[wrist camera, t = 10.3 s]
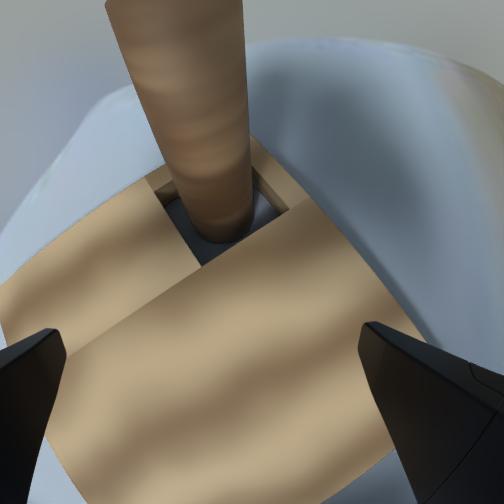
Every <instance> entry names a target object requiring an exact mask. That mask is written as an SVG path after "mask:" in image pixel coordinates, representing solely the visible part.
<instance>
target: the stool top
mask: <svg viewBox="0 0 504 504" xmlns="http://www.w3.org/2000/svg"><path fill="white" fill-rule="evenodd" d="M250 151H251V171H252V183H253V184H254V185H255V186H256V187H257V188H258V190H259V191H260V192H261V193H262V194H263V195H264V197H265V198H266V199H267V200H268V201H269V203H270V204H271V205H272V206H273V207H274V208H275V210H276V211H277V212H278V213H279V214H280V216H279V217H277V218H276V219H274V220H273V221H271V222H270V223H268V224H266V225H265V226H263V227H262V228H260V229H259V230H257V231H256V232H254V233H253V234H251V235H250V236H248V237H246V238H245V239H243V240H242V241H240V242H239V243H237V244H236V245H234V246H233V247H231V248H230V249H228V250H227V251H225V252H223V253H222V254H220V255H219V256H217V257H216V258H214V259H213V260H211V261H210V262H208V263H207V264H205V265H204V266H202V267H201V265H200V264H199V262H198V261H197V259H196V258H195V256H194V255H193V253H192V252H191V250H190V249H189V247H188V245H187V244H186V242H185V241H184V239H183V238H182V236H181V235H180V233H179V232H178V230H177V228H176V227H175V225H174V224H173V222H172V221H171V219H170V217H169V216H168V214H167V213H166V211H165V210H164V208H163V206H164V205H166V204H168V203H169V202H171V201H172V200H174V199H176V198H177V197H179V196H180V195H179V193H178V191H177V188H176V186H175V184H174V181H173V179H172V177H171V174H170V172H169V170H168V168H167V165H166V164H164V165H162V166H161V167H159V168H157V169H156V170H154V171H152V172H151V173H149V174H148V175H146V176H144V177H143V178H141V179H140V180H138V181H137V182H135V183H133V184H132V185H130V186H129V187H127V188H126V189H124V190H123V191H121V192H120V193H118V194H117V195H115V196H114V197H112V198H111V199H109V200H108V201H106V202H105V203H104V204H102V205H101V206H99V207H98V208H96V209H95V210H94V211H92V212H91V213H89V214H88V215H87V216H85V217H84V218H83V219H81V220H80V221H79V222H77V223H76V224H74V225H73V226H72V227H70V228H69V229H68V230H67V231H65V232H64V233H63V234H61V235H60V236H59V237H58V238H56V239H55V240H54V241H52V242H51V243H50V244H49V245H47V246H46V247H45V248H44V249H42V250H41V251H40V252H39V253H38V254H36V255H35V256H34V257H33V258H32V259H30V260H29V261H28V262H27V263H26V264H25V265H23V266H22V267H21V268H20V269H19V270H18V271H17V272H15V273H14V274H13V275H12V276H11V277H10V278H9V279H8V280H7V281H5V282H4V283H3V284H2V285H1V286H0V323H1V326H2V330H3V333H4V337H5V340H6V343H7V346H10V345H12V344H14V343H16V342H18V341H21V340H23V339H25V338H27V337H29V336H31V335H33V334H35V333H37V332H39V331H41V330H43V329H45V328H55V329H58V330H59V332H60V334H61V337H62V340H63V343H64V346H65V349H66V353H67V359H66V362H65V366H64V370H63V374H62V377H61V381H60V385H59V389H58V393H57V397H56V400H55V403H54V406H53V409H52V412H51V415H50V418H49V421H48V424H47V427H46V431H45V434H44V435H45V437H46V439H47V440H48V442H49V444H50V446H51V448H52V450H53V451H54V453H55V455H56V457H57V458H58V460H59V462H60V463H61V465H62V467H63V468H64V470H65V471H66V473H67V474H68V476H69V478H70V479H71V481H72V482H73V484H74V485H75V487H76V488H77V490H78V491H79V492H80V494H81V495H82V497H83V498H84V499H85V501H86V502H87V504H320V503H322V502H323V501H325V500H327V499H328V498H330V497H331V496H333V495H334V494H336V493H337V492H339V491H340V490H342V489H343V488H345V487H346V486H347V485H349V484H350V483H352V482H353V481H354V480H356V479H357V478H358V477H360V476H361V475H362V474H364V473H365V472H366V471H368V470H369V469H370V468H372V467H373V466H374V465H375V464H377V463H378V462H379V461H380V460H382V459H383V458H384V457H385V456H386V455H388V454H389V453H390V452H391V451H392V450H393V449H395V446H394V444H393V441H392V439H391V437H390V434H389V432H388V430H387V428H386V425H385V423H384V421H383V418H382V416H381V414H380V412H379V409H378V407H377V405H376V403H375V401H374V398H373V396H372V394H371V391H370V388H369V385H368V382H367V379H366V376H365V372H364V369H363V366H362V363H361V360H360V357H359V354H358V341H359V337H360V332H361V327H362V325H363V324H364V323H365V322H371V321H378V322H380V323H382V324H384V325H387V326H389V327H391V328H393V329H396V330H398V331H400V332H402V333H405V334H407V335H409V336H411V337H414V338H416V339H418V340H420V341H423V342H425V343H427V342H426V341H425V339H424V338H423V337H422V335H421V334H420V332H419V331H418V330H417V328H416V327H415V325H414V324H413V323H412V321H411V320H410V319H409V317H408V316H407V315H406V313H405V312H404V310H403V309H402V308H401V306H400V305H399V304H398V302H397V301H396V300H395V298H394V297H393V296H392V295H391V293H390V292H389V291H388V289H387V288H386V287H385V285H384V284H383V283H382V282H381V280H380V279H379V278H378V277H377V275H376V274H375V273H374V271H373V270H372V269H371V268H370V266H369V265H368V264H367V263H366V261H365V260H364V259H363V258H362V257H361V255H360V254H359V253H358V252H357V250H356V249H355V248H354V247H353V246H352V244H351V243H350V242H349V241H348V240H347V238H346V237H345V236H344V235H343V234H342V233H341V231H340V230H339V229H338V228H337V227H336V225H335V224H334V223H333V222H332V221H331V220H330V219H329V217H328V216H327V215H326V214H325V213H324V212H323V211H322V209H321V208H320V207H319V206H318V205H317V204H316V203H315V201H314V200H313V199H312V198H311V197H310V196H309V195H308V194H307V193H306V191H305V190H304V189H303V188H302V187H301V186H300V185H299V184H298V183H297V182H296V181H295V179H294V178H293V177H292V176H291V175H290V174H289V173H288V172H287V171H286V170H285V169H284V168H283V167H282V166H281V165H280V163H279V162H278V161H277V160H276V159H275V158H274V157H273V156H272V155H271V154H270V153H269V152H268V151H267V150H266V149H265V148H264V147H263V146H262V145H261V144H260V143H259V142H258V141H257V140H256V139H255V138H254V137H253V136H252V135H251V134H250Z"/></svg>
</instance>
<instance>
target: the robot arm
mask: <svg viewBox="0 0 504 504" xmlns="http://www.w3.org/2000/svg"><path fill="white" fill-rule="evenodd" d="M358 354H359V357H360V360H361V363H362V366H363V369H364V372H365V376H366V379H367V382H368V385H369V388H370V391H371V394H372V396H373V398H374V401H375V403H376V405H377V407H378V409H379V412H380V414H381V416H382V418H383V421H384V423H385V425H386V428H387V430H388V432H389V434H390V437H391V439H392V441H393V444H394V446H395V448H396V451H397V453H398V456H399V458H400V460H401V463H402V465H403V468H404V470H405V473H406V475H407V477H408V480H409V482H410V485H411V487H412V490H413V492H414V495H415V498H416V500H417V503H418V504H504V376H503V375H501V374H498V373H495V372H492V371H490V370H488V369H485V368H483V367H480V366H478V365H476V364H473V363H471V362H470V363H469V362H468V361H466V360H464V359H462V358H459V357H457V356H455V355H452V354H450V353H448V352H445V351H443V350H441V349H439V348H436V347H434V346H432V345H429V344H427V343H425V342H423V341H420V340H418V339H416V338H414V337H411V336H409V335H407V334H405V333H402V332H400V331H398V330H396V329H393V328H391V327H389V326H387V325H384V324H382V323H380V322H378V321H371V322H365V323H364V324H363V325H362V327H361V332H360V337H359V341H358ZM66 359H67V353H66V349H65V346H64V343H63V340H62V337H61V334H60V332H59V330H58V329H55V328H45V329H43V330H41V331H39V332H37V333H35V334H33V335H31V336H29V337H27V338H25V339H23V340H21V341H18V342H16V343H14V344H12V345H10V346H8V347H6V348H4V349H2V350H0V504H27V500H28V495H29V491H30V486H31V482H32V478H33V474H34V470H35V466H36V462H37V458H38V454H39V451H40V447H41V444H42V440H43V437H44V434H45V431H46V427H47V424H48V421H49V418H50V415H51V412H52V409H53V406H54V403H55V400H56V397H57V393H58V389H59V385H60V381H61V377H62V374H63V370H64V366H65V362H66Z"/></svg>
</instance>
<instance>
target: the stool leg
mask: <svg viewBox="0 0 504 504" xmlns="http://www.w3.org/2000/svg"><path fill="white" fill-rule="evenodd" d="M105 8H106V11H107V14H108V17H109V20H110V22H111V25H112V28H113V31H114V34H115V36H116V39H117V42H118V45H119V48H120V50H121V53H122V56H123V58H124V61H125V63H126V66H127V69H128V72H129V74H130V77H131V79H132V82H133V84H134V87H135V90H136V92H137V95H138V97H139V100H140V102H141V105H142V107H143V110H144V112H145V115H146V117H147V120H148V122H149V125H150V127H151V129H152V132H153V134H154V137H155V139H156V142H157V144H158V146H159V149H160V151H161V153H162V156H163V158H164V160H165V163H166V165H167V168H168V170H169V172H170V174H171V177H172V179H173V181H174V184H175V186H176V188H177V191H178V193H179V195H180V197H181V200H182V202H183V204H184V206H185V209H186V211H187V213H188V215H189V217H190V220H191V222H192V224H193V226H194V228H195V230H196V232H197V233H198V235H199V236H200V237H202V238H203V239H204V240H206V241H208V242H211V243H214V244H228V243H232V242H234V241H237V240H238V239H240V238H241V237H243V236H244V235H245V234H246V233H247V232H248V231H249V229H250V227H251V225H252V223H253V218H254V210H253V190H252V171H251V151H250V132H249V113H248V94H247V76H246V57H245V39H244V23H243V4H242V0H107V1H106V3H105Z"/></svg>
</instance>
